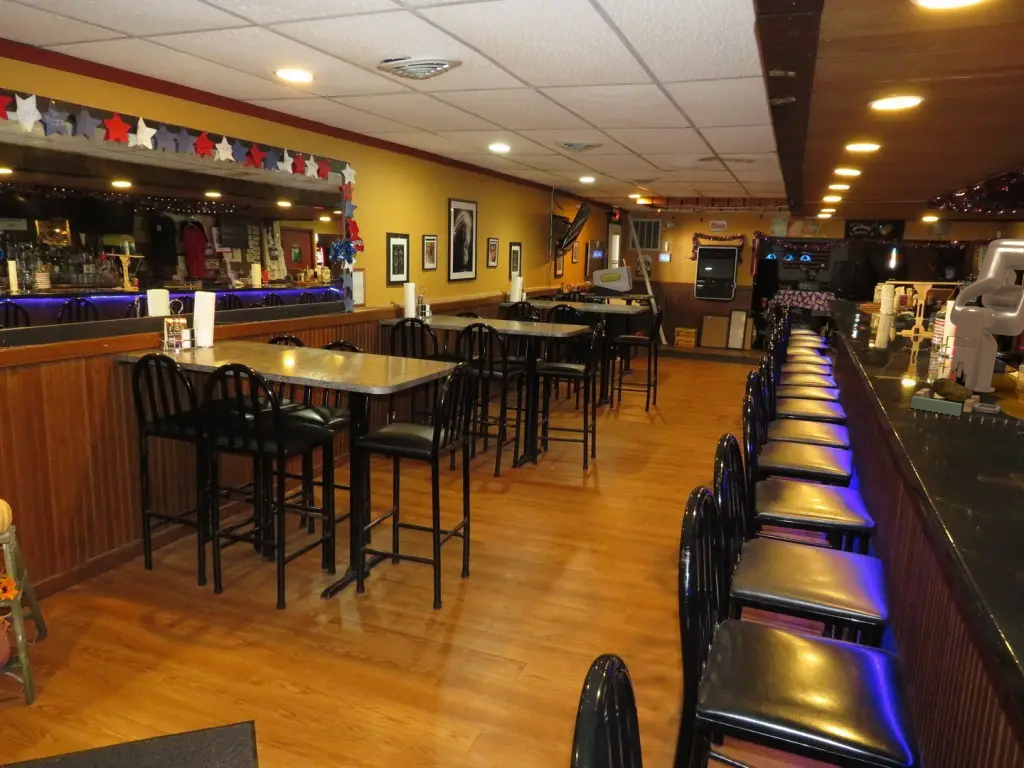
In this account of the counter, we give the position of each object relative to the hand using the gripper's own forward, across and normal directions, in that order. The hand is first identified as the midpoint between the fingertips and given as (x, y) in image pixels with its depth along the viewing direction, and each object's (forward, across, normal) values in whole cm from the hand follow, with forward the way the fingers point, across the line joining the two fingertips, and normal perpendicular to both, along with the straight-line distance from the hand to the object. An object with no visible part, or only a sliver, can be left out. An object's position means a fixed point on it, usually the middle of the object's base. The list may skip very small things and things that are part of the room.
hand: (958, 391), depth 255 cm
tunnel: (+2, +20, 0) cm, 20 cm away
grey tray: (+2, +20, +12) cm, 23 cm away
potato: (+2, +11, 0) cm, 11 cm away
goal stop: (+2, +36, 0) cm, 36 cm away
